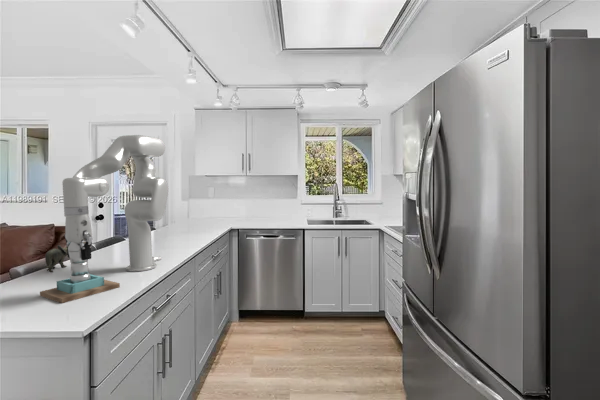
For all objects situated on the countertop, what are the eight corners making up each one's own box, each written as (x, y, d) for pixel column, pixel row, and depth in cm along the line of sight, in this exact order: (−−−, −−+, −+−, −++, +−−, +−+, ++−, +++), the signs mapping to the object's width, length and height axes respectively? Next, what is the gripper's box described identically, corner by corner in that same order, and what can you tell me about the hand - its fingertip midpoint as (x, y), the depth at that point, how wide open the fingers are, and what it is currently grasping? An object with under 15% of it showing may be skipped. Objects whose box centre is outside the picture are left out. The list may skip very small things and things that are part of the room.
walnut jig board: (96, 281, 143) (96, 270, 143) (119, 287, 135) (119, 275, 135) (40, 295, 126) (39, 283, 126) (62, 303, 118) (61, 290, 118)
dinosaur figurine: (46, 276, 154) (44, 250, 153) (27, 276, 154) (25, 250, 153) (78, 264, 175) (77, 241, 175) (61, 264, 176) (60, 241, 175)
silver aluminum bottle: (81, 290, 127) (78, 234, 126) (65, 289, 128) (62, 234, 127) (95, 284, 133) (92, 232, 132) (80, 284, 135) (76, 232, 133)
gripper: (100, 211, 128) (102, 258, 129) (75, 210, 137) (78, 253, 138) (78, 213, 121) (81, 262, 122) (53, 211, 130) (56, 257, 131)
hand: (79, 258), depth 130 cm, fingers open, 9 cm apart
